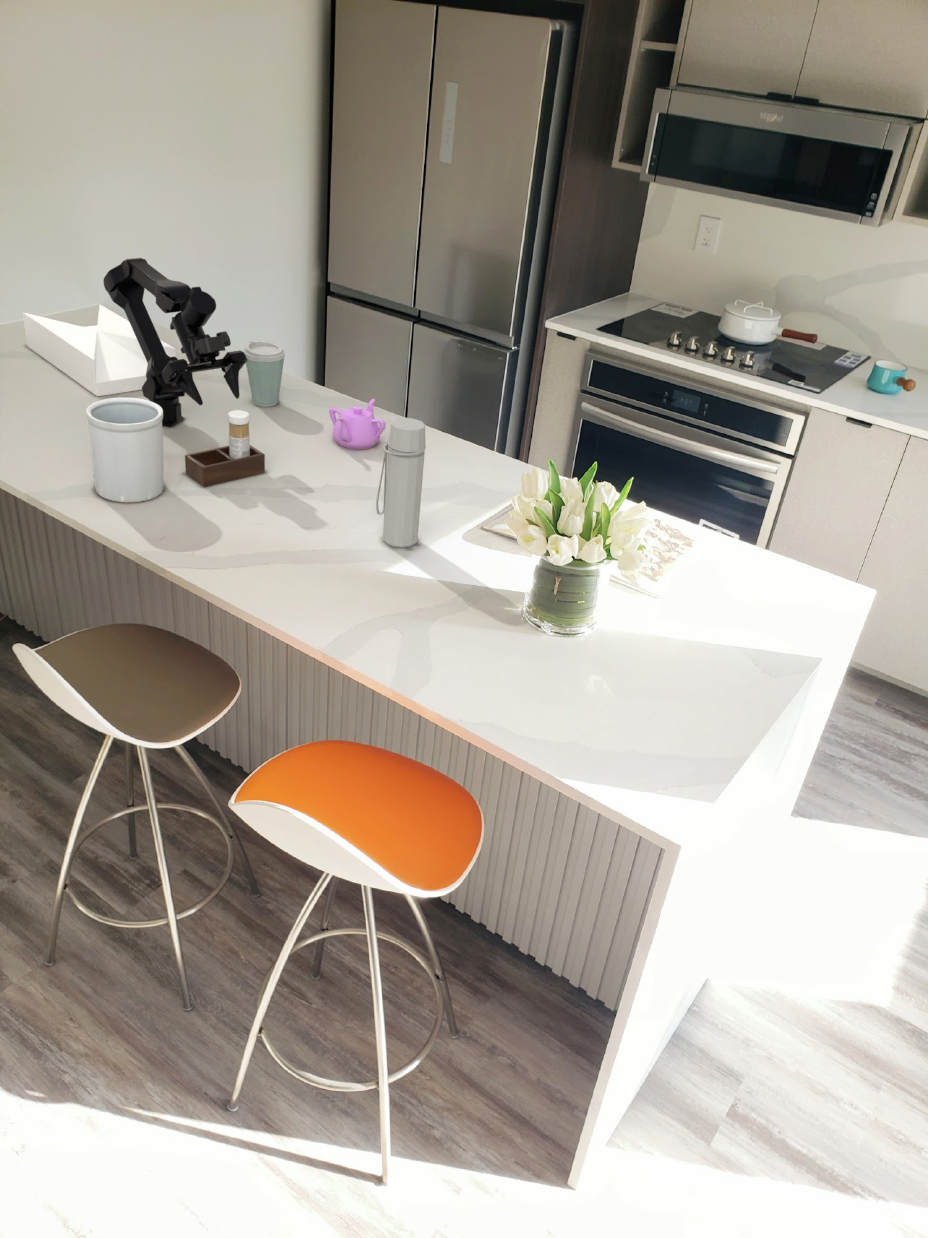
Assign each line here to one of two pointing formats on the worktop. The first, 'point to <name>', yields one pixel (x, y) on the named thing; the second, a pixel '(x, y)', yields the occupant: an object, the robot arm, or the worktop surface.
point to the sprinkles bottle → (239, 434)
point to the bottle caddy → (222, 466)
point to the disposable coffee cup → (264, 371)
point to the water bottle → (403, 482)
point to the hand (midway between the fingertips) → (220, 401)
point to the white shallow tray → (92, 351)
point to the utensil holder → (126, 448)
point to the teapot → (356, 427)
